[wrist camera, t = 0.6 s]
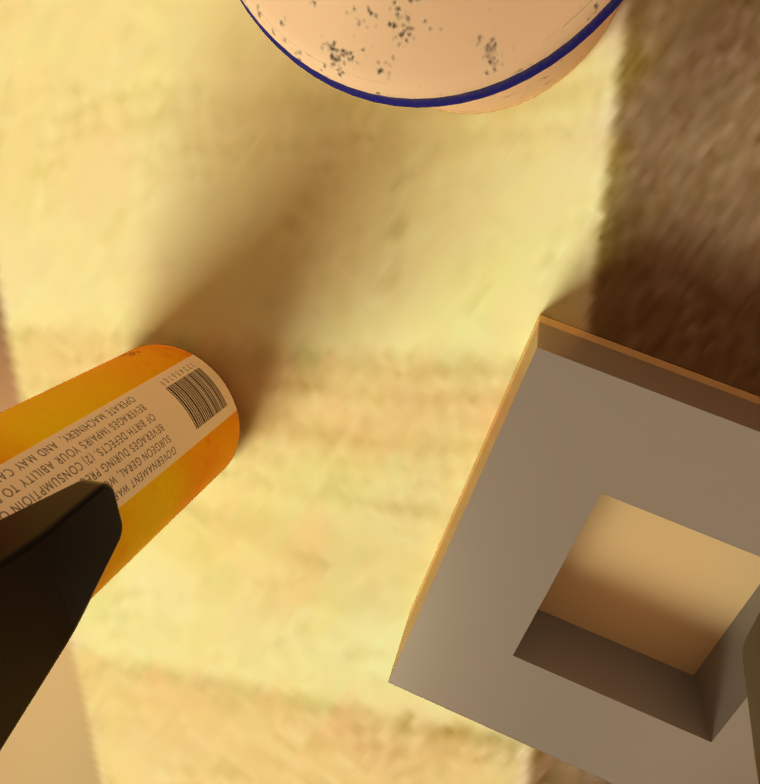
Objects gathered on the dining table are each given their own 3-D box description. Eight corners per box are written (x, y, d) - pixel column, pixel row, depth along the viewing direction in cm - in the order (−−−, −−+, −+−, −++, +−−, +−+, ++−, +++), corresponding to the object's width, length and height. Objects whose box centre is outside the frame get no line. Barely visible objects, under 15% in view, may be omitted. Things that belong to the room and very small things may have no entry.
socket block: (730, 752, 26) (758, 849, 22) (409, 612, 28) (388, 682, 24) (958, 471, 20) (1046, 541, 17) (539, 314, 22) (537, 347, 18)
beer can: (91, 398, 28) (-348, 636, 14) (171, 308, 25) (-270, 492, 12) (190, 498, 28) (-142, 819, 15) (277, 420, 26) (-27, 718, 12)
